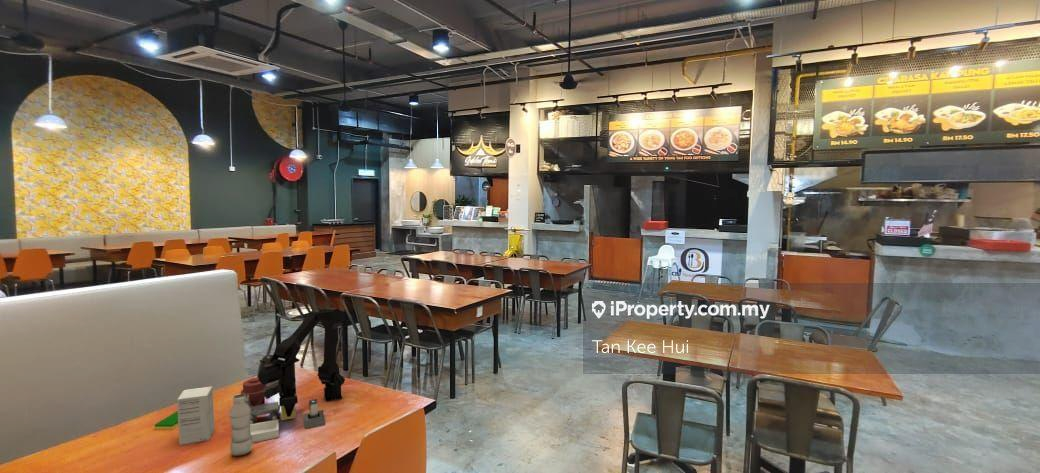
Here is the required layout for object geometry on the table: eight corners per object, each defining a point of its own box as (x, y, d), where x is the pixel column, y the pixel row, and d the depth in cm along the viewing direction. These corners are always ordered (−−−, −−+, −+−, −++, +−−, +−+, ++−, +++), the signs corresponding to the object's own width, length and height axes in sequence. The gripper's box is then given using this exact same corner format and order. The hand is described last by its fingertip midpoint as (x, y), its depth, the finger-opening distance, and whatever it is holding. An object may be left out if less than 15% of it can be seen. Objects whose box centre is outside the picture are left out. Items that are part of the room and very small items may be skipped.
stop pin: (317, 420, 184) (317, 398, 183) (318, 423, 181) (317, 401, 181) (309, 422, 182) (308, 399, 182) (310, 425, 180) (309, 402, 179)
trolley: (280, 411, 192) (279, 388, 191) (280, 422, 183) (279, 397, 182) (246, 418, 186) (245, 393, 186) (244, 429, 177) (243, 403, 176)
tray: (278, 426, 179) (278, 419, 179) (278, 437, 171) (278, 429, 170) (243, 433, 174) (243, 425, 173) (242, 445, 165) (241, 436, 165)
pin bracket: (322, 417, 186) (322, 410, 186) (324, 424, 180) (324, 417, 180) (303, 421, 183) (303, 414, 183) (304, 428, 177) (304, 421, 177)
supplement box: (185, 433, 174) (183, 389, 173) (215, 428, 177) (212, 385, 176) (178, 445, 165) (176, 399, 164) (209, 440, 169) (207, 394, 168)
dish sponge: (153, 431, 177) (153, 424, 177) (180, 414, 191) (180, 408, 191) (172, 431, 177) (172, 424, 177) (197, 414, 191) (197, 408, 191)
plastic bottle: (236, 448, 163) (233, 392, 161) (256, 447, 163) (254, 391, 162) (226, 458, 156) (223, 400, 155) (247, 457, 157) (245, 399, 156)
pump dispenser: (251, 390, 215) (250, 357, 214) (267, 381, 225) (266, 350, 224) (271, 391, 213) (270, 358, 212) (286, 383, 223) (285, 351, 222)
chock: (295, 413, 188) (295, 403, 188) (295, 417, 184) (295, 407, 184) (281, 416, 186) (281, 406, 185) (281, 420, 182) (281, 410, 182)
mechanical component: (252, 402, 201) (274, 403, 200) (235, 413, 191) (258, 413, 190) (251, 374, 200) (273, 375, 199) (234, 383, 190) (257, 384, 189)
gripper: (264, 371, 188) (265, 409, 189) (263, 387, 172) (265, 428, 173) (294, 367, 194) (296, 403, 195) (296, 382, 177) (298, 422, 178)
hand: (288, 414), depth 185 cm, fingers closed on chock, 4 cm apart
